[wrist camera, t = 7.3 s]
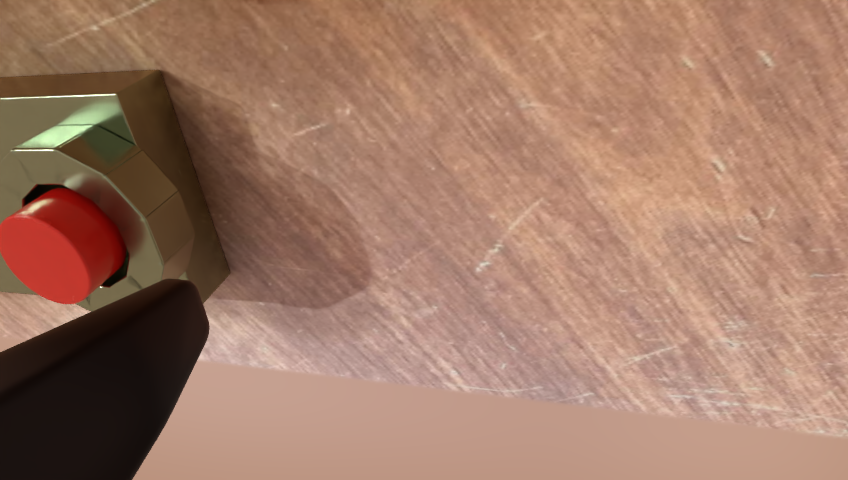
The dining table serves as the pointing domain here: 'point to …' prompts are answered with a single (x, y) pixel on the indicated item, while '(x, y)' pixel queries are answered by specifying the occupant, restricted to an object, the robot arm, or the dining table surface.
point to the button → (62, 246)
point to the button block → (110, 173)
